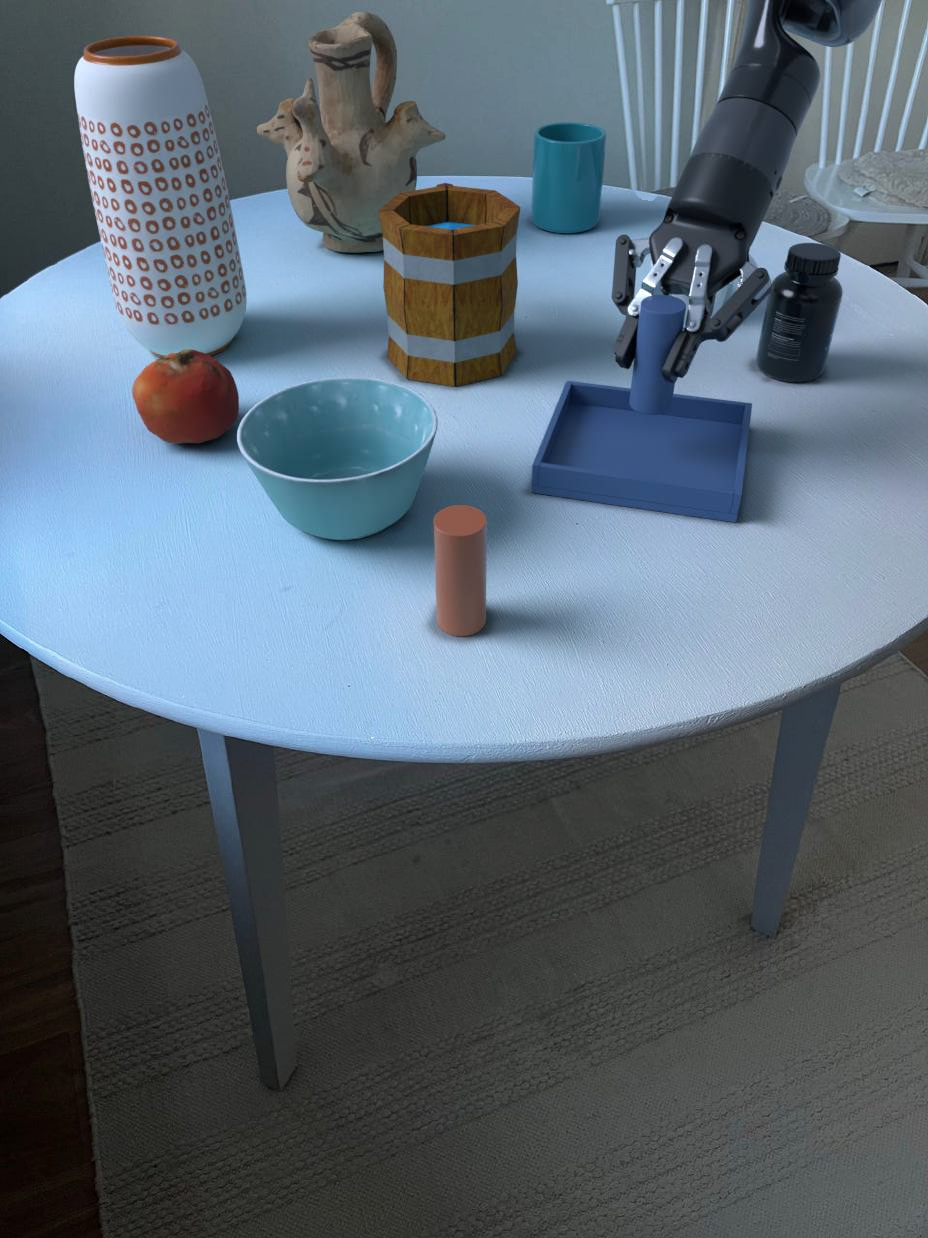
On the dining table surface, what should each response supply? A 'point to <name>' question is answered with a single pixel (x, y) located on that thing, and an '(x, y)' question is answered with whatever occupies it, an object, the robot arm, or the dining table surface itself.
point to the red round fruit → (186, 397)
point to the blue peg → (655, 353)
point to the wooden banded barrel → (450, 283)
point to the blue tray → (645, 452)
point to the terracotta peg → (460, 569)
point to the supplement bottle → (801, 314)
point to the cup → (567, 176)
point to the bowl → (340, 453)
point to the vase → (160, 195)
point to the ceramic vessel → (349, 136)
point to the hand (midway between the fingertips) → (645, 370)
